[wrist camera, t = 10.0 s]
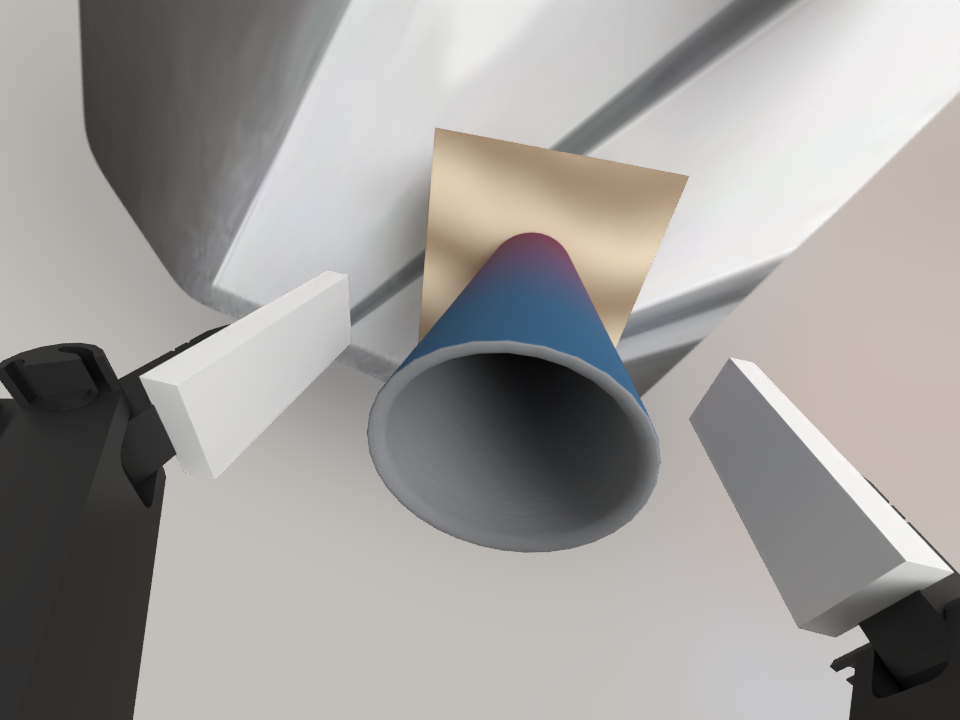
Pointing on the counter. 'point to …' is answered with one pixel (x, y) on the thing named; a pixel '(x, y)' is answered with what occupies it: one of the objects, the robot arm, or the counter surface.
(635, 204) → the beige streaked flat-top fixture
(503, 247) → the cup
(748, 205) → the counter surface
